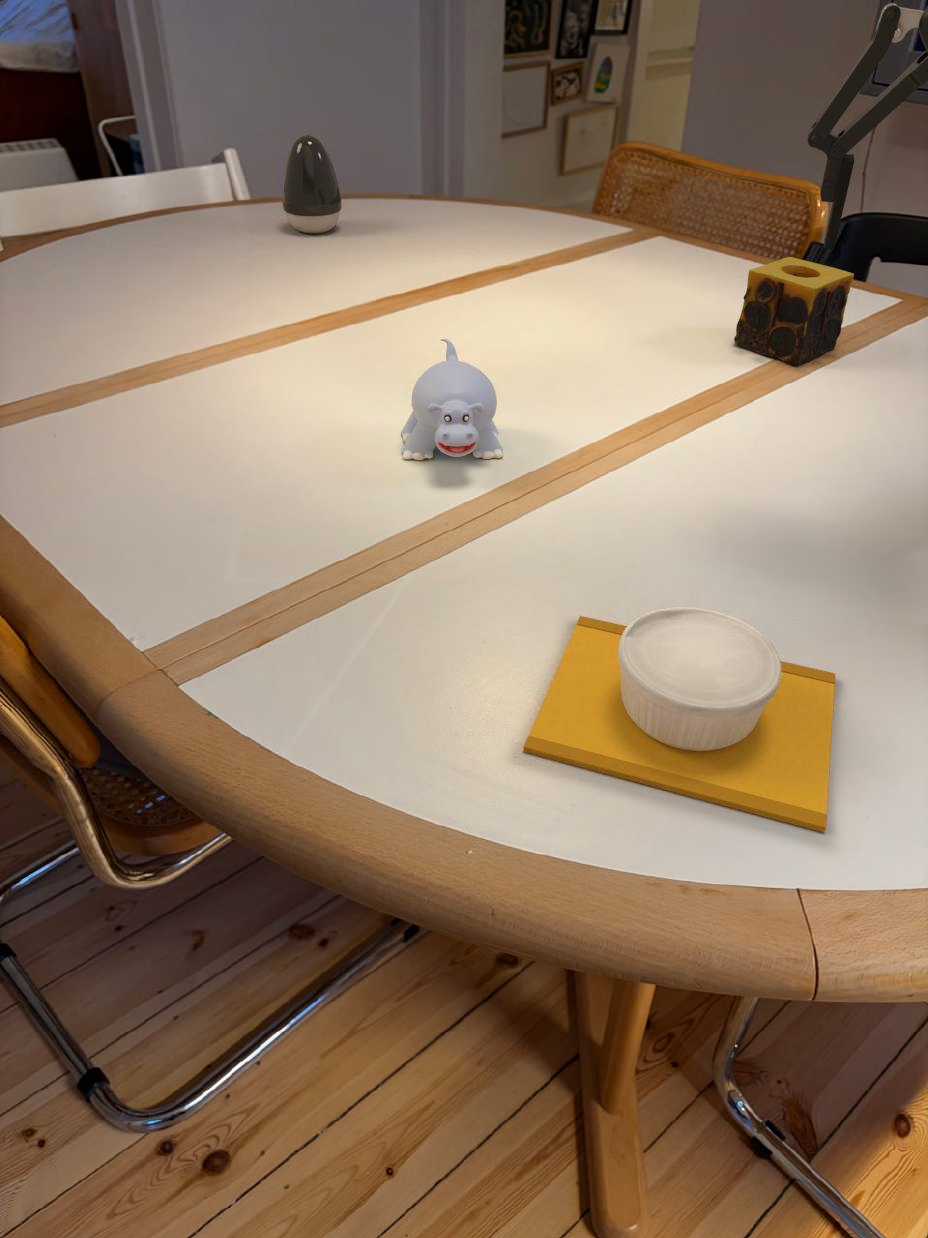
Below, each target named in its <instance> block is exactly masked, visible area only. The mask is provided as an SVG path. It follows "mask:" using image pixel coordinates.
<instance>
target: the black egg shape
mask: <svg viewBox="0 0 928 1238" xmlns="http://www.w3.org/2000/svg"><path fill="white" fill-rule="evenodd" d="M342 209H343V204H342V196H341V190H340V186H339V182H338V178H337V174H336V171H335V168H334V164H333V162H332V159H331V156H330V153H329V152H328V150H327V148H326V146H325V145H324V143H323V142H322V140H320V139H319V138H318V137H316V136H315V135H313V134H311V133H308V134H302V135H299V136H298V137H297V138H296V139H295V140H294V141H293V143H292V145H291V147H290V150H289V152H288V155H287V160H286V163H285V170H284V176H283V185H282V210H283V211H284V212H285V216H286V218H287V221H288V222H289V224H290V225H291V226H292V228H294V229H295V230H297V231H299V232H301V233H303V234H312V235H313V234H315V235H316V234H322V233H323V234H324V233H326V232H329V231H330V230H332V229H333V228H334V227H336V226H335V225H337V224H338V221H339V219H340V214H341V211H342Z"/></svg>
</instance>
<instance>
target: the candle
mask: <svg viewBox="0 0 928 1238" xmlns="http://www.w3.org/2000/svg"><path fill="white" fill-rule="evenodd" d="M854 277H855V273H853V272H849V271H846V270H842V269H840V268H837V267H833V266H828V265H824V264H821V263H816V262H813V261H808V260H804V259H800V258H797V257H794V256H786V257H784V258H781V259H778V260H775V261H772V262H769V263H767V264H764V265H761V266H757V267H755V268H751V269H749V270H748V276H747V285H746V291H745V294H744V296H743V304H742V309H741V311H740V315H739V318H738V321H737V323H736V328H735V336H734V338H733V341H734V345H736V346H738V347H740V348H742V349H743V348H744V349H747V350H750V351H752V352H755V353H757V354H759V355H760V354H761V355H764V356H767V357H771V358H775V359H778V360H781V361H783V362H785V363H787V364H790V365H792V366H800V365H803V364H804V363H805V362H809V361H812V360H813V359H816V358H817V357H820V356H822V355H823V354H825V353H827V352H829V351H831V350H834V349H835V348H836V346H837V341H838V339H839V337H840V335H841V333H842V325H843V322H844V315H845V310H846V306H847V303H848V297H849V294H850V292H851V286H852V284H853V282H854V281H853V280H854Z"/></svg>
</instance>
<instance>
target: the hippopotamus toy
mask: <svg viewBox="0 0 928 1238" xmlns="http://www.w3.org/2000/svg"><path fill="white" fill-rule="evenodd" d="M439 341H440V342H444V343H446V350H445V351H446V352H445V359H446V360H445V361H440V362H438V363H435V364H434V365H431V366H429V368H428V369H426V370H425V371H424V372H423V373H422V374H421V375H420V376H419V377H418V379H417V380H416V381H415V383H414V386H413V388H412V392H411V407H412V411H411V413H410V415H409V417H408V418H407V420H406V422H405V424H404V426H403V427H402V429H401V431H400V435H401V437H402V441H403V443H404V445H403V446H402V448H401V453H402V458H403V459H404V460H415V461H423V460H424V459H432V458H434V451H435V448H436V447H437V449H438V450H439V451H440V452H441V453H443V454H445V455H447V456H450V457H454V458H461V457H464V456H467V455H469V454H471V453H472V456H473V457H474V458H476V459H478V458H479V459H480V458H481V459H483V460H490V459H493V458H495V459H501V458H503V457H504V452H503V451H504V449H503V446H502V444H501V443H500V441H499V439H500V438H499V430H498V428H497V426H496V424H495V422H494V421H493V420H494V417H495V415H496V411H497V405H498V398H497V397H498V396H497V392H496V389H495V387H494V384H493V382H491V380H490V378H489V377H488V376H487V375H486V373H484V372H483V371H482V370H480V369H479V368H477V367H476V366H474V365H472V364H470V363H468V362H465V361H461V360H459V358H458V353H457V350H456V348H455V346H454V344H453V343H452V341H451V340H449V339H448V338H441V339H440V340H439Z"/></svg>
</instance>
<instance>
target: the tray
mask: <svg viewBox="0 0 928 1238" xmlns="http://www.w3.org/2000/svg"><path fill="white" fill-rule="evenodd" d="M627 626H628V625H624V624H619V623H614V622H610V621H605V620H601V619H598V618H597V619H596V618H592V617H588V616H583V615H579V617H578V620H577V622H576V625H575V628H574V629H573V632H572V634H571V636H570V639H569V641H568V643H567V646H566V648H565V651H564V653H563V655H562V657H561V660H560V661H559V665H558V667H557V668H556V671H555V673H554V675H553V678H552V680H551V683H550V685H549V688H548V690H547V692H546V695H545V696H544V698H543V701H542V704H541V706H540V707H539V710H538V713H537V714H536V718H535V720H534V722H533V725H532V727H531V730H530V731H529V734H528V735H527V737H526V739H525V742H524V745H523V748H522V752H523V753H526V754H531V755H535V756H539V757H543V758H546V759H549V760H554V761H557V762H561V763H565V764H568V765H571V766H575V767H579V768H583V769H587V770H591V771H594V772H598V773H600V774H601V773H602V774H604V775H608V776H612V777H617V778H619V779H623V780H627V781H631V782H635V783H639V784H642V785H646V786H650V787H653V788H657V789H661V790H666V791H667V792H672V793H676V794H679V795H684V796H686V797H691V798H694V799H698V800H702V801H704V802H709V803H714V804H717V805H720V806H724V807H728V808H730V809H731V808H732V809H736V810H739V811H743V812H747V813H751V814H754V815H757V816H762V817H765V818H769V819H773V820H777V821H780V822H784V823H787V824H791V825H795V826H798V827H802V828H805V829H806V828H807V829H810V830H813V831H817V832H820V833H825V832H826V829H827V822H828V821H827V820H828V814H827V813H828V798H829V785H830V783H829V782H830V781H829V780H830V767H831V751H832V733H833V719H834V717H833V716H834V704H835V703H834V701H835V686H836V675H837V674H836V673H835V672H831V671H827V670H822V669H818V668H813V667H809V666H804V665H800V664H797V663H796V664H795V663H792V662H787V661H784V660H783V661H782V660H780V662H781V667H782V672H781V679H780V683H779V686H778V689H777V691H776V693H775V694H774V696H773V697H772V698H771V699H770V700H769V701H768V702H767V704H766V706H765V708H764V710H763V712H762V714H761V716H760V718H759V720H758V721H757V723H756V725H755V727H754V728H753V730H752V731H751V732H750V733H749V734H748V735H747V736H746V737H745V738H743V739H742V740H741V741H739V742H737V743H735V744H733V745H730V746H728V747H725V748H721V749H717V750H711V751H691V750H684V749H679V748H675V747H672V746H669V745H666V744H664V743H662V742H659V741H657V740H656V739H654V738H652V737H650V736H649V735H647V734H646V733H645V732H644V731H642V730H641V729H640V728H639V727H638V726H637V725H636V724H635V722H634V721H633V720H632V719H631V717H630V716H629V715H628V713H627V711H626V709H625V707H624V703H623V700H622V694H621V673H620V665H619V661H618V647H619V642H620V638H621V635H622V633H623V631H624V630H625V628H626V627H627Z"/></svg>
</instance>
